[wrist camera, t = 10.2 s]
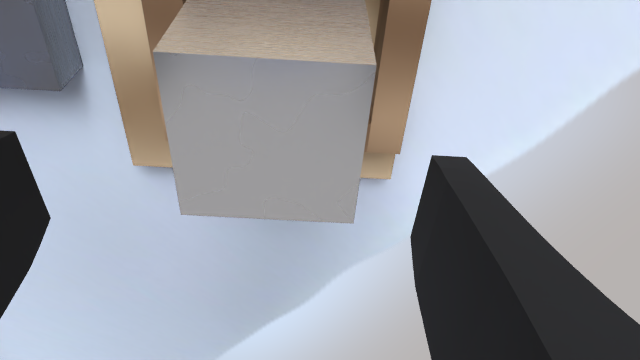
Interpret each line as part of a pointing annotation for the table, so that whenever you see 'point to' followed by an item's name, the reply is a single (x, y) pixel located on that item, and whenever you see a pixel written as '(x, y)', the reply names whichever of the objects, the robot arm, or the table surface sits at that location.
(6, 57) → the socket
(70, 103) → the table surface
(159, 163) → the rack board
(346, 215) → the brushed metal block
